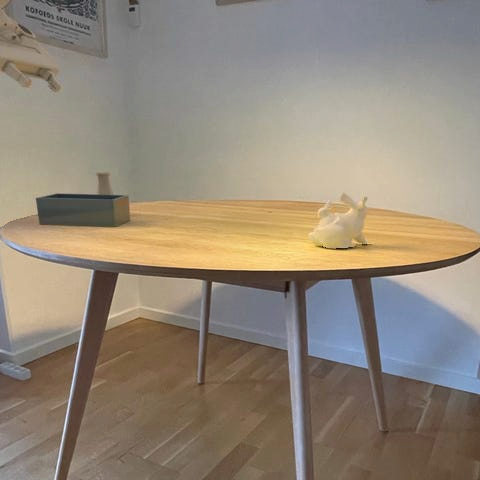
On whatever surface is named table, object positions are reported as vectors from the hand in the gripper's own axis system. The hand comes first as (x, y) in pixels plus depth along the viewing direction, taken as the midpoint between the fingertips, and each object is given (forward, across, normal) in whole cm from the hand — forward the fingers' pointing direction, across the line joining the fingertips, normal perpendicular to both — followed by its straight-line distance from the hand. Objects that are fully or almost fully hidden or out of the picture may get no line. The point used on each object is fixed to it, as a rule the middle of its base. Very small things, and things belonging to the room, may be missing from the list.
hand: (43, 87), depth 98 cm
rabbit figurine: (+65, -9, -26) cm, 71 cm away
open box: (+25, -1, +14) cm, 28 cm away
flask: (+24, +8, +15) cm, 30 cm away
